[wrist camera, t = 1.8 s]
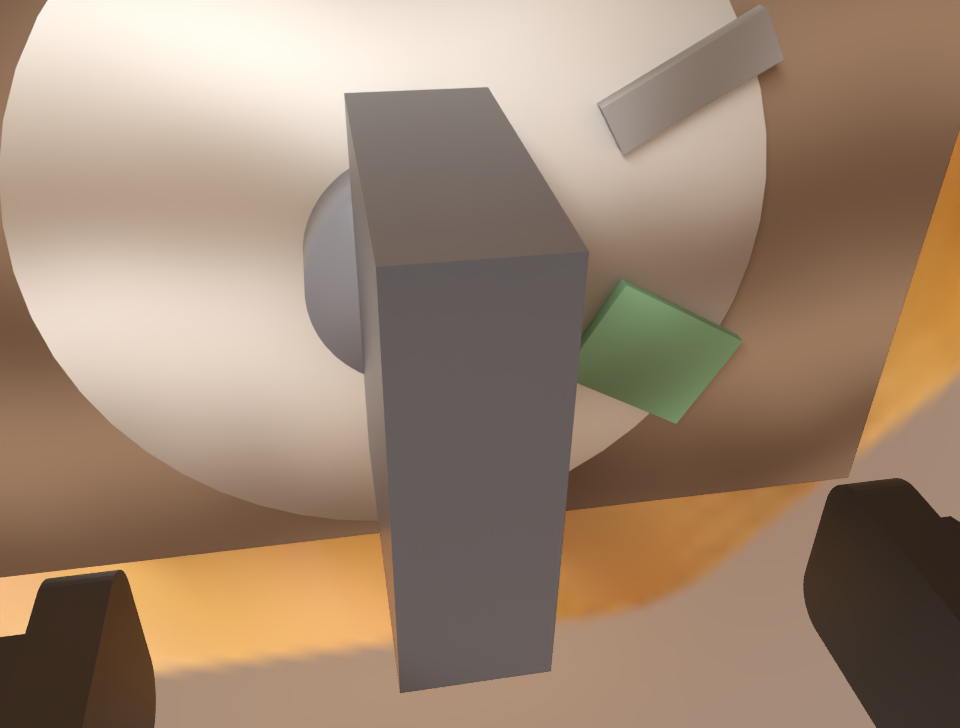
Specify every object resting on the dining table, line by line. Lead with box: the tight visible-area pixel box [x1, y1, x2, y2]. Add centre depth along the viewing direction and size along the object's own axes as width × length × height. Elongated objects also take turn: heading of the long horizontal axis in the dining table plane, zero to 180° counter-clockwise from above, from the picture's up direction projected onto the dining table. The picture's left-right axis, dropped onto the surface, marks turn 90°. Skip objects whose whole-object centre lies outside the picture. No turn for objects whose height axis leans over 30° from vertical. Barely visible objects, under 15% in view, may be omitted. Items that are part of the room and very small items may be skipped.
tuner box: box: [0, 0, 960, 577], centre depth 19 cm, size 15×22×6 cm
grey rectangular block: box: [303, 87, 589, 693], centre depth 15 cm, size 10×4×7 cm, turn 179°
